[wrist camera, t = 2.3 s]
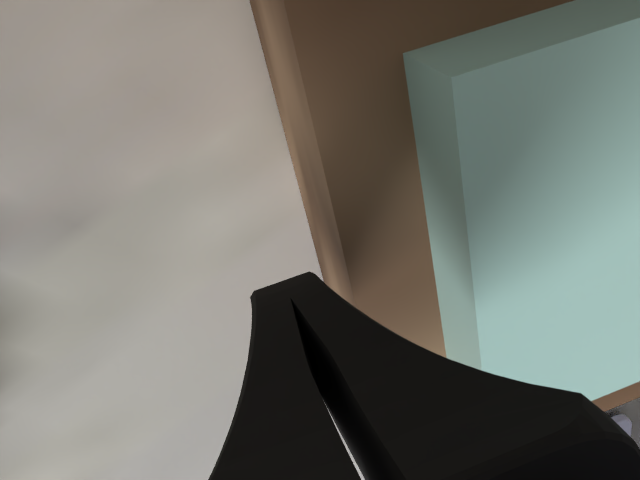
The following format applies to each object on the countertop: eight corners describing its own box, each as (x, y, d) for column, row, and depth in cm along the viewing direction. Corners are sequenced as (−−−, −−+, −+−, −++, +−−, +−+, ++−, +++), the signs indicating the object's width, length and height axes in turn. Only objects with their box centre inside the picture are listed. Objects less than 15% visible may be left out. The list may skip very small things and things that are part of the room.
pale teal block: (645, 310, 17) (703, 355, 15) (450, 387, 16) (489, 443, 14) (674, -31, 12) (763, -22, 11) (402, 53, 11) (451, 77, 10)
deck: (653, 287, 23) (747, 352, 19) (355, 402, 21) (400, 495, 18) (698, -195, 15) (867, -226, 11) (231, -70, 13) (268, -63, 10)
